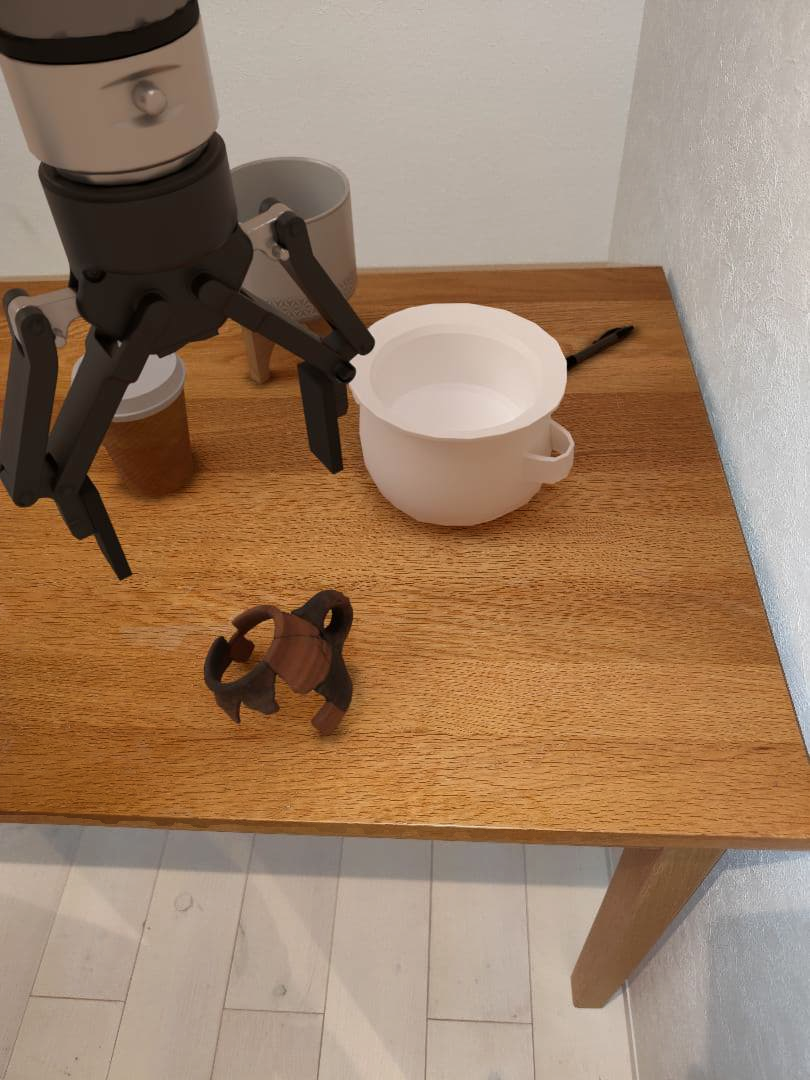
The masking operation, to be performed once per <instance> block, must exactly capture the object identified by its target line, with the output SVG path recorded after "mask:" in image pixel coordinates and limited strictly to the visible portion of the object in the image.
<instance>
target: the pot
mask: <svg viewBox="0 0 810 1080" xmlns="http://www.w3.org/2000/svg"><path fill="white" fill-rule="evenodd" d="M367 329H368V331H369V332H370V333H371V335H372V336H373V337H374V339H375V346H374V348H373V350H372V351H371V352H370V353H369V354H367V355H364V356H363V355H360V354H358V355H356V356H355V357H354V358H353V359H352V360H351V361H350V363H351V364H352V365H353V366H354V367H355V368H356V375H355V377H354V379H353V380H352V381H351V382H350V383H348V387H349V389H350V391H351V393H352V396H353V400H354V401H355V403H356V404H357V405H358V406H359V429H358V431H359V439H360V440H359V441H360V445H361V451H362V457H363V463H364V466H365V468H366V470H367V472H368V474H369V475H370V477H371V479H372V481H373V482H374V484H375V486H376V488H377V489H378V491H379V492H380V494H381V496H382V497H384V498H385V499H386V500H387V501H388V502H389V503H390V504H391V505H392V506H393V507H395V509H397V510H399V511H401V512H403V513H405V514H406V515H407V516H409V517H411V518H412V519H413V520H415V521H417V522H422V523H428V524H433V525H440V526H447V527H449V526H455V527H457V526H458V527H461V526H462V527H473V526H475V525H479V524H483V523H487V522H492V521H494V520H496V519H499V518H501V517H502V516H505V515H507V514H508V513H509V514H510V513H511V512H513V511H516V510H517V509H519V508H521V507H523V506H525V505H526V504H528V503H530V501H531V499H533V497H534V496H535V495H536V494H537V493H539V492H540V490H541V488H542V485H543V484H553V485H554V484H555V483H558V482H560V481H561V480H564V479H565V478H567V477H568V475H569V473H570V472H571V470H572V467H573V466H574V456H575V441H574V439H573V437H572V435H571V433H570V432H569V430H567V429H566V428H565V427H564V426H562V425H561V424H560V423H558V422H557V421H555V419H553V418H552V413H554V412H555V411H556V410H558V408H559V406H560V404H561V402H562V401H563V399H564V397H565V396H564V395H565V391H566V387H567V383H568V382H567V381H568V370H567V361H566V359H565V358H566V357H565V355H564V353H563V350H562V349H561V346H560V345H559V342H558V341H557V340H556V338H554V337H553V336H551V335H550V334H549V333H548V332H546V331H545V330H544V329H543V328H541V327H540V326H539V325H538V324H537V323H535V322H533V321H531V320H529V319H527V318H524V317H522V316H519V315H518V314H515V313H513V312H511V311H508V310H506V309H502V308H497V307H491V306H486V305H480V304H475V303H469V302H467V303H465V302H463V303H461V302H460V303H459V302H458V303H457V302H456V303H453V302H451V303H428V304H422V305H418V306H412V307H408V308H405V309H402V310H399V311H397V312H393V313H391V314H389V315H387V316H385V317H383V318H381V319H379V320H377V321H375V322H374V323H373V324H372V325H370V326H369V327H368V328H367ZM552 451H555V452H557V453H559V454H560V455H558V456H556V457H555V456H551V455H552Z"/></svg>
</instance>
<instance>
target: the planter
mask: <svg viewBox="0 0 810 1080" xmlns="http://www.w3.org/2000/svg"><path fill="white" fill-rule="evenodd" d="M230 172H231V178H232V183H233V188H234V194H235V199H236V205H237V210H238V217H237V220H238V223H239V225H240V224H242V223H244V222H246V221H248V220H250V219H252V218H254V217H256V216H258V215H259V206H260V204H261V203H262V201H263V200H264V199H266V198H268V197H274V198H276V199H277V200H279V201H280V202H281V203H283V204H284V205H286V206H287V207H288V208H289V209H291V210H292V211H293V212H294V213H295V214H297V215H298V216H299V217H301V218H302V219H303V220H304V221H305V223H306V227H307V231H308V235H309V239H310V243H311V247H312V252H313V255H314V257H315V258H316V259H317V261H318V262H319V263H320V265H321V266H322V268H323V269H324V270H325V272H326V273H327V274H328V276H329V277H330V279H331V280H332V281H333V283H334V284H335V285H336V287H337V288H338V289H339V291H340V292H341V294H342V295H343V296H344V298H345V299H346V300H347V302H349V300H350V299H351V298H353V295H354V293H355V292H356V290H357V287H358V270H357V269H358V268H357V257H356V255H357V254H356V245H355V232H354V219H353V208H352V197H351V184H350V180H349V178H348V177H347V175H346V173H344V171H342V169H340V168H338V167H337V166H335V165H333V164H331V163H330V162H325V161H323V160H320V159H316V158H311V157H304V156H274V157H266V158H262V159H261V158H260V159H257V160H252V161H249V162H248V161H247V162H245V163H242V164H239V165H237V166H235V167H233V168H230ZM242 287H243V288H245V289H246V290H248V291H249V292H251V293H252V294H254V295H256V296H257V297H259V298H260V299H262V300H263V301H265V302H267V303H268V304H270V305H271V306H273V307H275V308H276V309H278V310H279V311H281V312H282V313H284V314H286V315H287V316H289V317H290V318H292V319H293V320H295V321H297V322H298V323H300V324H301V325H304V326H305V327H306V328H308V329H309V330H311V331H312V332H314V333H316V334H317V335H319V336H320V337H322V338H325V337H326V336H327V335H328V334H330V333H331V332H332V331H333V330H332V329H331V327H330V326H329V325H328V324H327V322H326V321H325V320H324V318H323V317H322V316H321V315H320V313H319V312H318V311H317V310H316V308H315V307H314V306H313V304H312V303H311V302H310V301H309V299H308V298H307V297H306V296H305V294H304V293H303V292H302V291H301V289H300V288H299V287H298V285H297V284H296V283H295V282H294V280H293V279H292V278H291V277H290V275H289V274H288V273H287V271H286V270H285V269H284V268H283V266H282V265H281V264H280V263H279V261H272V260H270V259H269V258H268V257H267V256H266V255H264V254H263V253H262V252H261V251H260V250H256V251H254V253H253V260H252V263H251V265H250V267H249V270H248V272H247V275H246V277H245V279H244V282H243V284H242ZM240 330H241V335H242V340H243V345H244V349H245V354H246V359H247V364H248V368H249V374H250V378H251V380H253V381H254V382H257V383H259V384H261V385H262V384H263V383H265V382H267V381H268V380H269V379H271V374H270V366H271V365H270V364H271V358H272V354H273V351H274V349H275V346H276V343H274V342H272V341H271V340H269V339H267V338H266V337H264V336H262V335H261V334H259V333H257V332H255V333H254V332H252V331H250V330H249V329H247V328H245V327H244V326H242V325H240Z"/></svg>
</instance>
